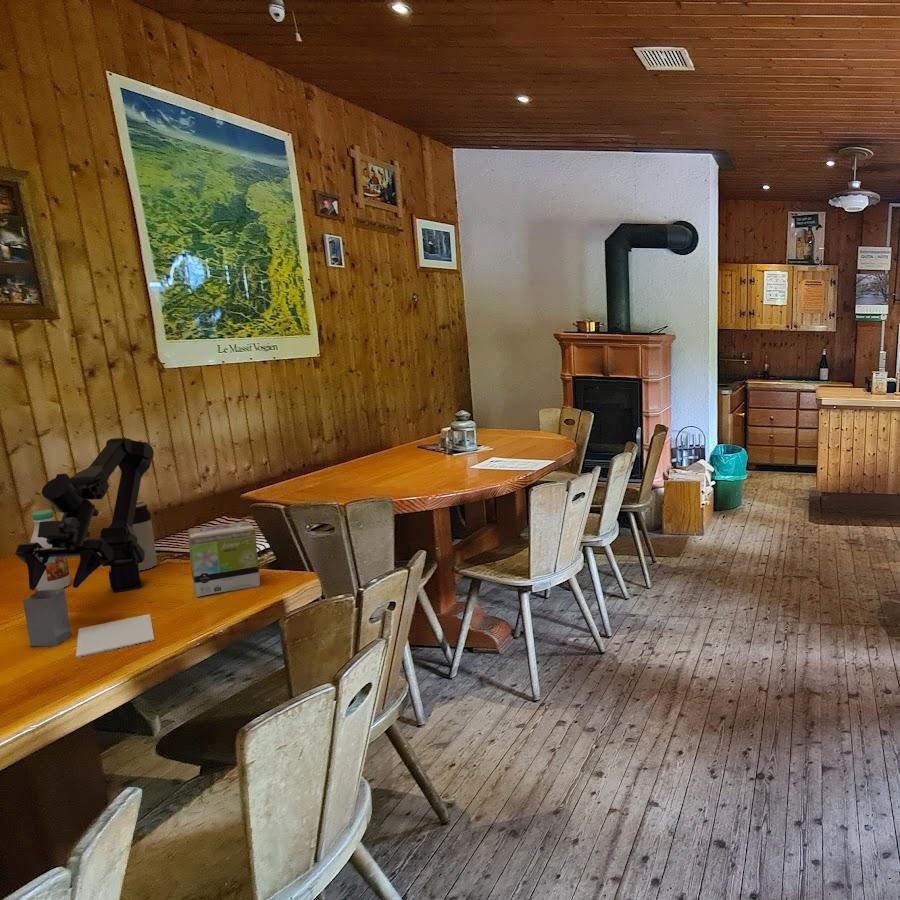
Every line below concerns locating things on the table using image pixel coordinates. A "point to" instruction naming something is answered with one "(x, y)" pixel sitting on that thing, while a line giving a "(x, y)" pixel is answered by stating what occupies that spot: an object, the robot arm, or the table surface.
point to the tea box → (223, 558)
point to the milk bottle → (50, 558)
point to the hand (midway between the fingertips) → (53, 588)
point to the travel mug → (144, 535)
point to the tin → (47, 617)
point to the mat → (114, 635)
